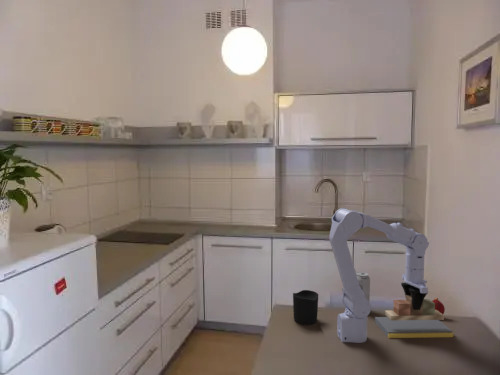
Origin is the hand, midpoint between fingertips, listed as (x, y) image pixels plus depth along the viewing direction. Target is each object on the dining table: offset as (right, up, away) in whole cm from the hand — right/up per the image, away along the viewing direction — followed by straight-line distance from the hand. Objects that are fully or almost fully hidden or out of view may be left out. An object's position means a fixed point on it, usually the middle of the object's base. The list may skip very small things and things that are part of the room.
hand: (413, 306), depth 127 cm
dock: (+1, -10, +5) cm, 11 cm away
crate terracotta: (-4, -2, 0) cm, 5 cm away
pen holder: (-35, -10, +13) cm, 39 cm away
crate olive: (+4, -2, 0) cm, 5 cm away
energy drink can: (-11, -9, +22) cm, 26 cm away
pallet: (0, -4, 0) cm, 4 cm away
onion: (+15, -9, +15) cm, 23 cm away
